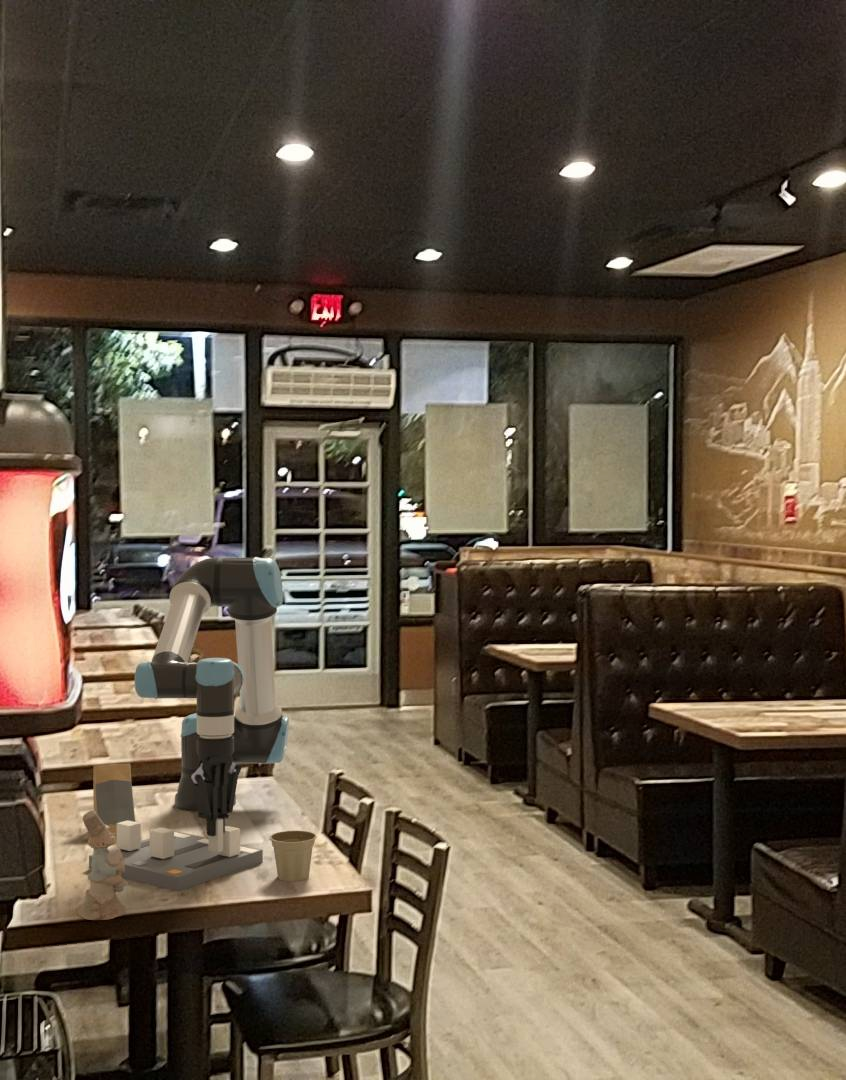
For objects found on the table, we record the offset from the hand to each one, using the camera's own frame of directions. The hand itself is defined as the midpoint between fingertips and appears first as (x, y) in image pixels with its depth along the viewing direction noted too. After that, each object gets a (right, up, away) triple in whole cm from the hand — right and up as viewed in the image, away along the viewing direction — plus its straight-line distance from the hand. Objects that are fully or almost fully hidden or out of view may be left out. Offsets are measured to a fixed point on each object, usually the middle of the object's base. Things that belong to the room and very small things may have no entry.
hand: (215, 850), depth 257 cm
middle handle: (-11, -1, +1) cm, 11 cm away
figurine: (-16, -6, -26) cm, 31 cm away
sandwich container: (-28, -4, +30) cm, 41 cm away
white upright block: (+2, -1, +3) cm, 4 cm away
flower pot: (+16, -5, -3) cm, 17 cm away
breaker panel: (-9, -5, +5) cm, 11 cm away
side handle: (-19, -1, +7) cm, 21 cm away
